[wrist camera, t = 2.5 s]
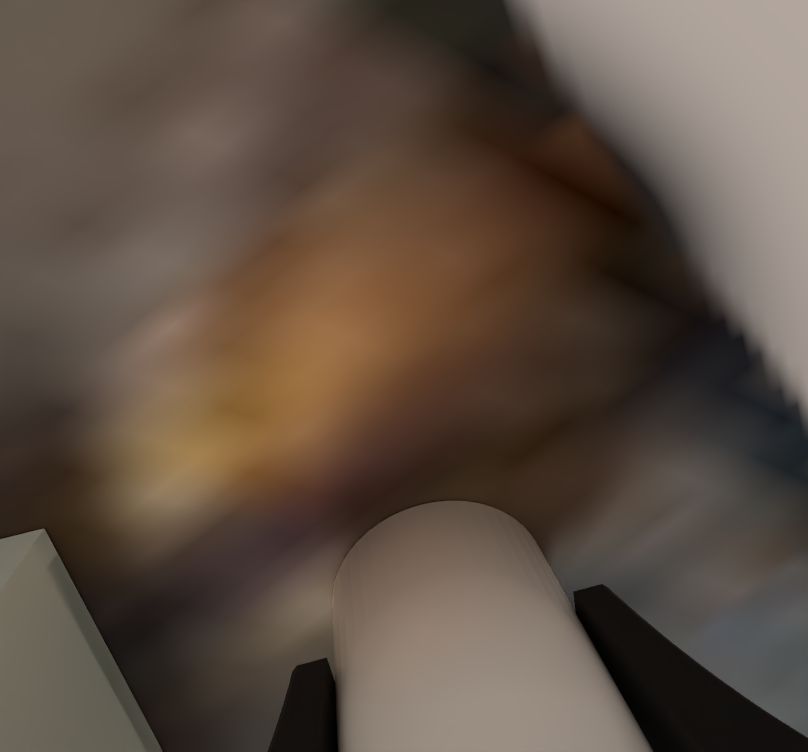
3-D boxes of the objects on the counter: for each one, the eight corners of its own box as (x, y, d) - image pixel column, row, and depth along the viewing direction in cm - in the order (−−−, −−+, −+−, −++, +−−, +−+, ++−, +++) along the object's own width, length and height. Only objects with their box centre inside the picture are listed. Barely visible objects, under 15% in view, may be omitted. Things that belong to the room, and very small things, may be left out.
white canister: (554, 644, 15) (743, 1034, 8) (359, 697, 14) (395, 1143, 8) (532, 476, 13) (754, 812, 6) (307, 533, 12) (297, 945, 6)
